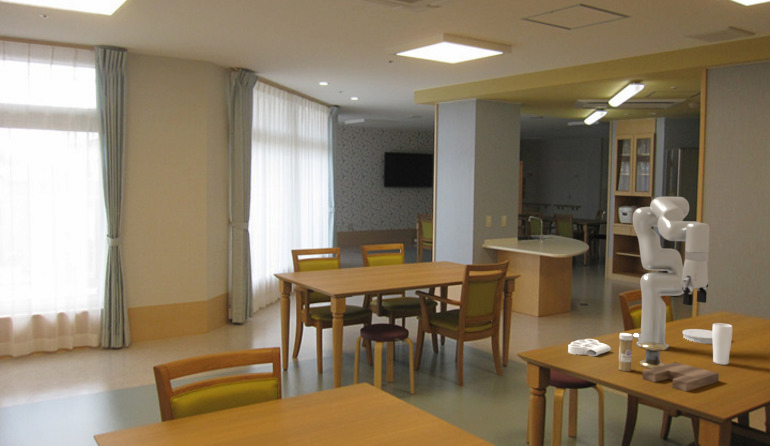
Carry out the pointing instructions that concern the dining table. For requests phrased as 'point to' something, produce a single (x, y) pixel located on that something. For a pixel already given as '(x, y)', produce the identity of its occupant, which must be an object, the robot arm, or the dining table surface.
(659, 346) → the bobbin
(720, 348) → the drinking glass
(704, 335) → the lid
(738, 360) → the dining table surface
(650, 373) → the notched board
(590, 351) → the knuckle duster
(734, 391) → the dining table surface
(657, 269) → the robot arm
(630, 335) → the sprinkles bottle
